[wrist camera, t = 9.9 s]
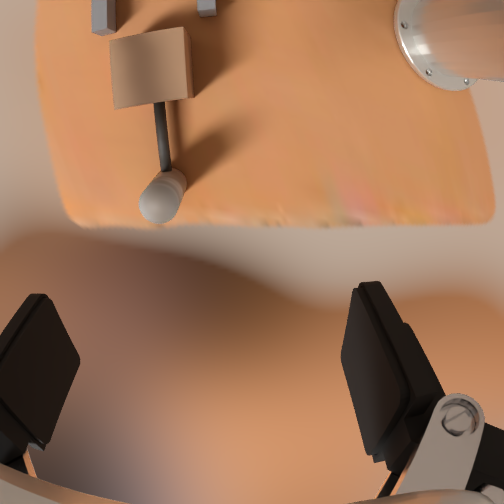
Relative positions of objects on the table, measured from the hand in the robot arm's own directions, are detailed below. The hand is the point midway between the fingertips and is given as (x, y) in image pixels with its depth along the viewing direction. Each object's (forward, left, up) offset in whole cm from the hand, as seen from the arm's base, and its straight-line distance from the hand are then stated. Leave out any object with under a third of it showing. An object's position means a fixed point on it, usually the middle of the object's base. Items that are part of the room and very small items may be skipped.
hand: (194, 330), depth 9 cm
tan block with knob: (+5, -5, -23) cm, 24 cm away
